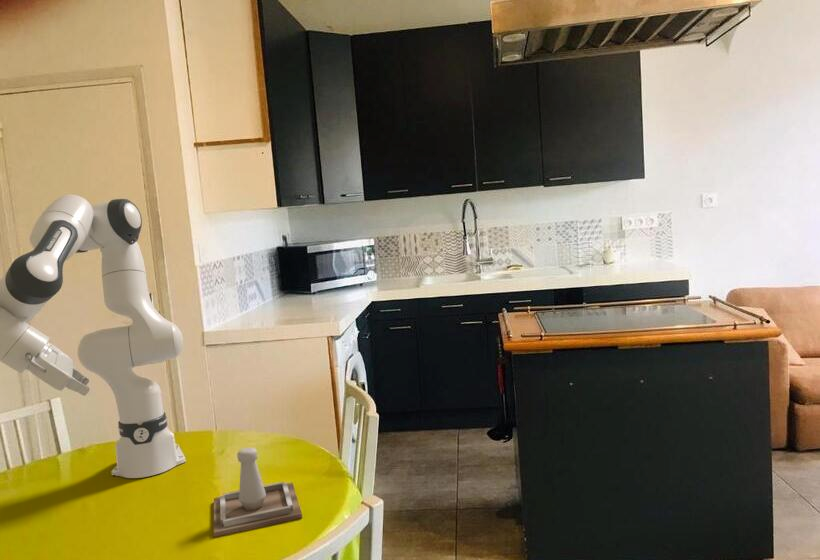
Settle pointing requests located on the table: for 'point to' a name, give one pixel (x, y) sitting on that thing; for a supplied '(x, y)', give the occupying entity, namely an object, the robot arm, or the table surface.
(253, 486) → the salt shaker
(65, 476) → the table surface
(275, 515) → the socket plate
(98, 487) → the table surface
